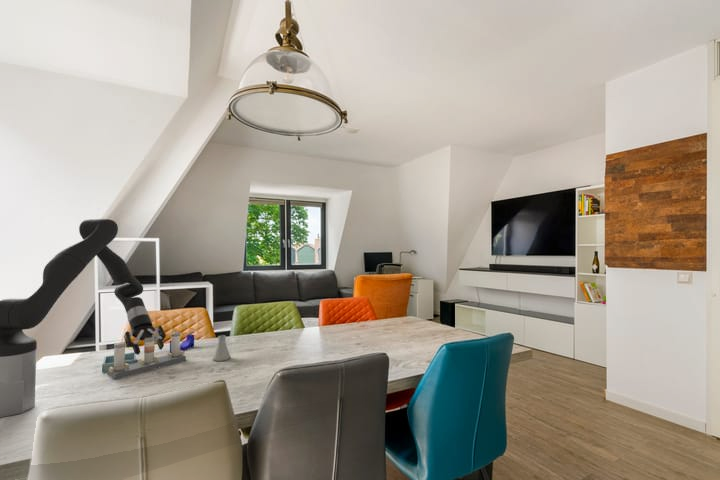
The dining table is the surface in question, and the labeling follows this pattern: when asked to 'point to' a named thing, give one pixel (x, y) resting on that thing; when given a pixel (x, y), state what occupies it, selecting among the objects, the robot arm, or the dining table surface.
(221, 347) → the flask
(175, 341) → the fuse
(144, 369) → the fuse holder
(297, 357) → the dining table surface
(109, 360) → the tray
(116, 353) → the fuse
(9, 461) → the dining table surface
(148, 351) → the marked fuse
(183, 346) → the blue shoe
